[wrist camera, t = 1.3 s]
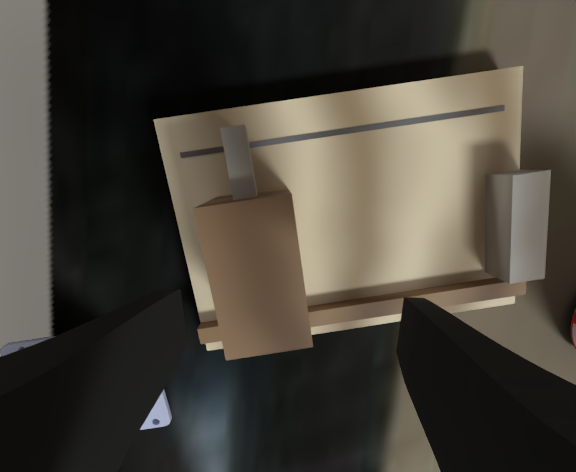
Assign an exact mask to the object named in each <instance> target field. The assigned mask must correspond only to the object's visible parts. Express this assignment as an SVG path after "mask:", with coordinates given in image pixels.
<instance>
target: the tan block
mask: <svg viewBox="0 0 576 472" xmlns="http://www.w3.org/2000/svg"><path fill="white" fill-rule="evenodd" d="M220 131H221V136H222V141H223V147H224V152H225V158H226V163H227V168H228V174H229V179H230V184H231V190H232V195H226V196H220V197H216V198H213V199H211V200H209V201H207V202H205V203H203V204H201V205H199V206H197V207H195V208H193V211H194V216H195V221H196V225H197V230H198V234H199V239H200V243H201V248H202V253H203V257H204V262H205V266H206V271H207V275H208V280H209V285H210V289H211V294H212V298H213V303H214V308H215V312H216V317H217V321H218V326H219V330H220V335H221V340H222V344H223V349H224V353H225V358H226V360H232V359H238V358H245V357H251V356H258V355H264V354H271V353H277V352H284V351H290V350H297V349H303V348H310V347H313V342H312V335H311V328H310V321H309V313H308V306H307V299H306V292H305V285H304V278H303V270H302V263H301V256H300V249H299V242H298V235H297V228H296V220H295V213H294V206H293V199H292V193H291V192H290V190H289V189H288V188H287V187H280V188H274V189H267V190H260V191H257V188H256V182H255V176H254V170H253V164H252V158H251V152H250V146H249V140H248V134H247V128H246V126H245V125H244V124H243V125H236V126H229V127H222V128H220Z"/></svg>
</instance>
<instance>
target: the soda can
mask: <svg viewBox="0 0 576 472" xmlns="http://www.w3.org/2000/svg"><path fill="white" fill-rule="evenodd" d="M571 339H572V342H573V345H574V347H575V348H576V309H575V311H574V314H573V318H572V322H571Z"/></svg>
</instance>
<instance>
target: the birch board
mask: <svg viewBox="0 0 576 472" xmlns="http://www.w3.org/2000/svg"><path fill="white" fill-rule="evenodd" d="M522 83H523V66H519V67H512V68H505V69H498V70H491V71H484V72H477V73H470V74H464V75H457V76H450V77H443V78H436V79H429V80H422V81H415V82H408V83H401V84H395V85H388V86H381V87H374V88H367V89H360V90H353V91H346V92H339V93H332V94H326V95H319V96H312V97H305V98H298V99H291V100H284V101H277V102H270V103H264V104H257V105H250V106H243V107H236V108H229V109H222V110H215V111H208V112H201V113H195V114H188V115H181V116H174V117H167V118H160V119H153V120H154V124H155V129H156V133H157V137H158V142H159V146H160V150H161V154H162V159H163V163H164V167H165V172H166V176H167V180H168V184H169V189H170V193H171V197H172V202H173V206H174V210H175V215H176V219H177V223H178V227H179V232H180V236H181V240H182V245H183V249H184V253H185V257H186V262H187V266H188V270H189V275H190V279H191V283H192V287H193V292H194V296H195V300H196V305H197V309H198V313H199V318H200V322H201V323H200V325H199V327H198V329H197V330H198V334H199V338H200V343H201V344H206V348H207V351H209V350H216V349H222V348H223V344H222V340H221V335H220V330H219V326H218V321H217V317H216V312H215V308H214V303H213V298H212V294H211V289H210V285H209V280H208V275H207V271H206V266H205V262H204V257H203V253H202V248H201V243H200V239H199V234H198V230H197V225H196V221H195V216H194V211H193V208H195V207H197V206H199V205H201V204H203V203H205V202H207V201H209V200H211V199H213V198H216V197H220V196H226V195H232V190H231V184H230V179H229V174H228V168H227V163H226V158H225V152H224V147H223V141H222V136H221V131H220V128H222V127H229V126H236V125H243V124H244V125H245V126H246V128H247V134H248V140H249V146H250V152H251V158H252V164H253V170H254V176H255V182H256V188H257V191H260V190H267V189H274V188H280V187H287V188H288V189H289V190H290V192H291V193H292V199H293V206H294V213H295V220H296V228H297V235H298V242H299V249H300V256H301V263H302V270H303V278H304V285H305V292H306V299H307V306H308V313H309V321H310V328H311V335H313V334H320V333H326V332H333V331H339V330H346V329H352V328H359V327H365V326H372V325H378V324H385V323H391V322H397V321H401V315H402V307H403V300H404V297H413V298H425V299H427V300H429V301H431V302H433V303H434V304H436V305H438V306H439V307H441V308H442V309H444V310H446V311H447V312H449V313H456V312H462V311H469V310H475V309H482V308H488V307H495V306H501V305H508V304H514V303H515V296H518V295H525V294H526V281H532V280H538V279H545V266H546V248H547V231H548V214H549V197H550V180H551V170H520V141H521V112H522Z"/></svg>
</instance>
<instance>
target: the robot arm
mask: <svg viewBox="0 0 576 472" xmlns="http://www.w3.org/2000/svg"><path fill="white" fill-rule="evenodd" d="M186 343H187V336H186V328H185V320H184V313H183V305H182V297H181V290H180V289H160V290H157V291H154V292H152V293H149V294H147V295H145V296H143V297H141V298H138V299H136V300H134V301H132V302H130V303H128V304H126V305H124V306H121V307H119V308H117V309H115V310H113V311H111V312H109V313H107V314H105V315H102V316H100V317H98V318H96V319H94V320H91V321H89V322H87V323H85V324H82V325H80V326H78V327H76V328H73V329H71V330H69V331H67V332H64V333H62V334H60V335H57V336H52V337H45V338H39V339H32V340H26V341H20V342H12V343H8V344H6V345H4V346H3V347H2V348H1V349H0V353H1V357H0V472H117V471H118V469H119V467H120V465H121V463H122V461H123V459H124V457H125V455H126V453H127V451H128V450H129V448H130V446H131V444H132V442H133V440H134V439H135V437H136V435H137V434H138V432H139V430H143V429H150V428H156V427H162V426H167V425H168V424H169V423H170V421H171V419H172V416H171V412H170V408H169V405H168V401H167V398H166V394H165V391H164V388H165V386H166V385H167V383H168V381H169V380H170V378H171V376H172V374H173V373H174V371H175V369H176V367H177V365H178V362H179V360H180V358H181V355H182V353H183V351H184V348H185V346H186ZM24 347H25V348H24ZM396 352H397V356H398V360H399V364H400V367H401V371H402V375H403V378H404V382H405V384H406V387H407V390H408V392H409V395H410V397H411V400H412V402H413V404H414V407H415V409H416V412H417V414H418V417H419V419H420V422H421V424H422V426H423V429H424V431H425V434H426V436H427V438H428V441H429V443H430V446H431V448H432V451H433V453H434V455H435V458H436V460H437V463H438V466H439V468H440V471H441V472H576V385H574V384H572V383H570V382H568V381H566V380H564V379H562V378H560V377H558V376H556V375H554V374H552V373H550V372H548V371H546V370H545V369H543V368H541V367H539V366H537V365H535V364H533V363H531V362H530V361H528V360H526V359H524V358H522V357H521V356H519V355H517V354H515V353H514V352H512V351H510V350H508V349H507V348H505V347H503V346H501V345H500V344H498V343H496V342H495V341H493V340H492V339H490V338H488V337H487V336H485V335H483V334H482V333H480V332H479V331H477V330H475V329H474V328H472V327H471V326H469V325H467V324H466V323H464V322H463V321H461V320H460V319H458V318H457V317H455V316H453V315H452V314H450V313H449V312H447V311H446V310H444V309H442V308H441V307H439V306H438V305H436V304H434V303H433V302H431V301H429V300H427V299H425V298H413V297H404V300H403V307H402V315H401V322H400V329H399V337H398V344H397V351H396ZM155 419H158V420H155Z"/></svg>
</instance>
